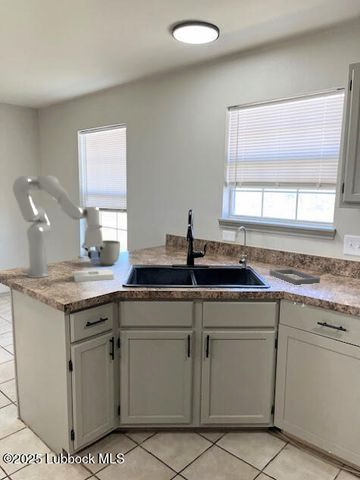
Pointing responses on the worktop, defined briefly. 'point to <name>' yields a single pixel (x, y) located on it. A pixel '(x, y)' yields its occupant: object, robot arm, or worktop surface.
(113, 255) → the planter
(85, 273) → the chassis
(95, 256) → the servo block
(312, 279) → the frame
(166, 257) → the worktop surface
